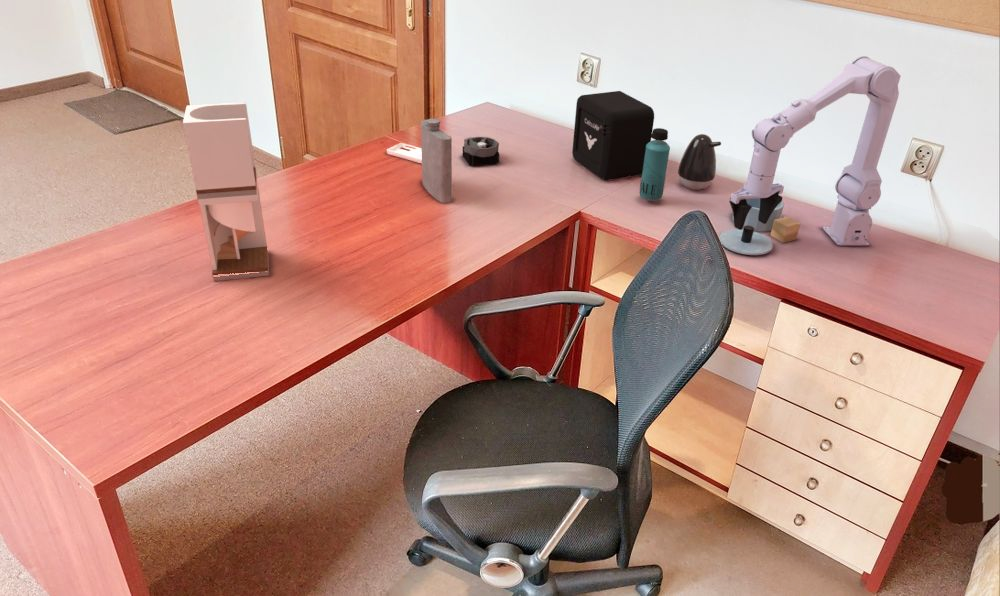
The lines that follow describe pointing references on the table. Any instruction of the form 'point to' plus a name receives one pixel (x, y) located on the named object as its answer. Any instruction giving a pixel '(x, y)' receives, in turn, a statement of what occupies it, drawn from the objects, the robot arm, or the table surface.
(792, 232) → the block
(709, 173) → the pump dispenser
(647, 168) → the beverage bottle
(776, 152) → the robot arm
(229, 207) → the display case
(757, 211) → the tin
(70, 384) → the table surface
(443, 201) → the hip flask
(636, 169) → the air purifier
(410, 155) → the phone case
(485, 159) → the cpu cooler
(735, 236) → the lid
